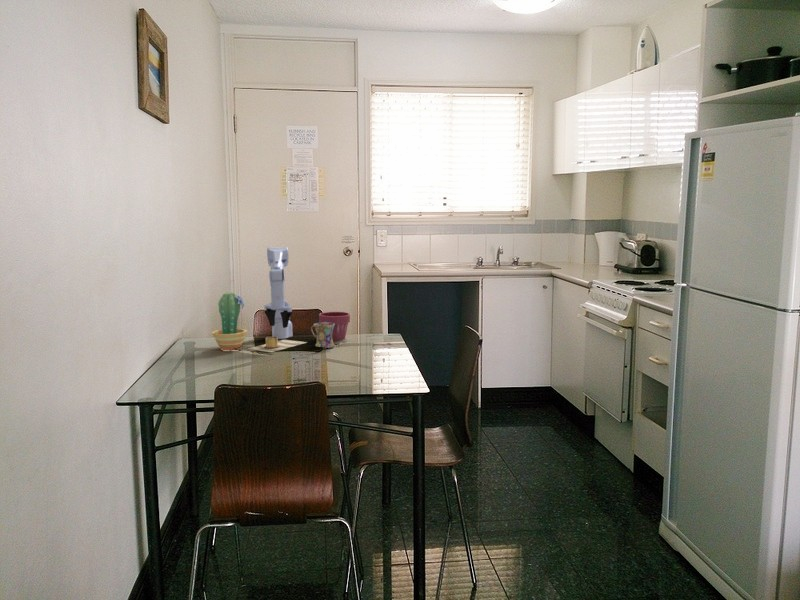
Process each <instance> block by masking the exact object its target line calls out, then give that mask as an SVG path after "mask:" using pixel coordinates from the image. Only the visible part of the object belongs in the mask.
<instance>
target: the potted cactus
mask: <svg viewBox="0 0 800 600" xmlns="http://www.w3.org/2000/svg"><path fill="white" fill-rule="evenodd" d="M217 304H218V313H219V316H220V318H221V329H216V330H212V331H211V334H212V337H213V338H214V339H215V342H216V344H217V345H218V347H219V349H220V348H221V349H223V350H237V349H239V348H240V347H241V346H242V345H243V343H244V341H245V339H246V336H247V335H248V330H247V329H244V328H238V321H239V315H240V312H241V310H243V309H244V307H245V301H244V299H243V298H242V297H241V295H236V294H235V293H233V292H226V293H223V294H222V296H221V297H220V299H219V300H218V302H217ZM237 351H238V350H237Z"/></svg>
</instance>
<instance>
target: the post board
mask: <svg viewBox="0 0 800 600" xmlns="http://www.w3.org/2000/svg"><path fill="white" fill-rule="evenodd" d="M269 339H272V338H269ZM307 343H308V342H307V341H300V340H290V339H279V340H278V347H275V348H267V347H266V343H265V344H261V345H257V346H253V347H249V348H248V349H247V351H251V352H250V353H254V352H258V353H257V354H261V353H264V352H265V353H266V354H265V355H268V354H272V353H273V352H274V353H275V352H278V351H282V350H285V349H290V348H292V347H296V346H301V345H303V344H307ZM247 351H246V352H247Z"/></svg>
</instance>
